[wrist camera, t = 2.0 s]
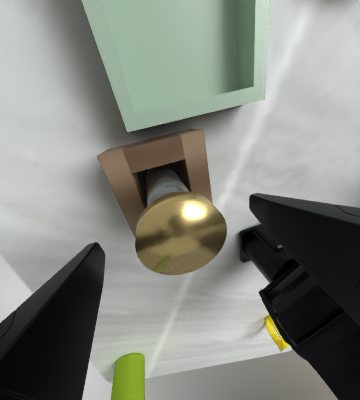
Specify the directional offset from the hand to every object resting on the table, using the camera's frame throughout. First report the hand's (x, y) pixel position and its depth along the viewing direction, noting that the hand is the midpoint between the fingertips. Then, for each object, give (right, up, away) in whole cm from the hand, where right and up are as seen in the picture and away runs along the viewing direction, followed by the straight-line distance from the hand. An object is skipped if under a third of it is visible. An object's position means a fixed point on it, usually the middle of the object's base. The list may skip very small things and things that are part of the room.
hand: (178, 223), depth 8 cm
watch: (+22, -29, +29) cm, 47 cm away
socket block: (-2, +4, +7) cm, 8 cm away
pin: (-2, +4, +7) cm, 8 cm away
